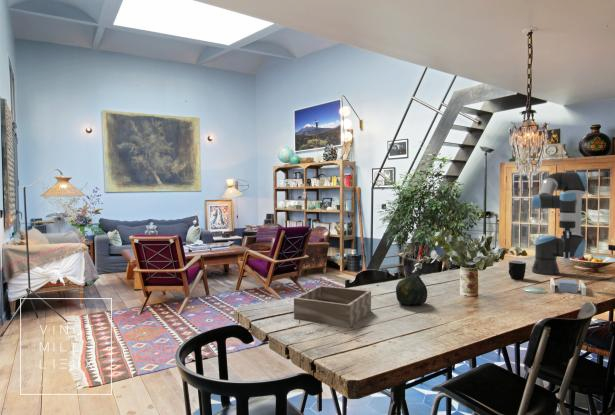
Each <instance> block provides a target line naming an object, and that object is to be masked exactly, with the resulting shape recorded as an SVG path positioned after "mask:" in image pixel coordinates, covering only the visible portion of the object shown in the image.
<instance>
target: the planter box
mask: <svg viewBox="0 0 615 415" xmlns="http://www.w3.org/2000/svg"><path fill="white" fill-rule="evenodd" d="M371 311H372V291H371V290H362V289H354V288H345V287H336V286H327V285H318V286H317V287H314V288H312V289H311V290H308V291H305V292H304V293H301V294H300V295H298V296H296V297H294V298H293V319H294V320H297V321H304V322H309V323H316V324H323V325H329V326H334V327H335V326H336V327H343V328H347V329H350V328H352V327H353V326H354V325H355V324H356V323H358V322H359V321H360V320H362V319H363V318H364V317H365V316H367V315H368V314H369V313H370V312H371Z"/></svg>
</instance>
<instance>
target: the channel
mask: <svg viewBox="0 0 615 415" xmlns="http://www.w3.org/2000/svg"><path fill="white" fill-rule="evenodd" d="M549 280H550V281H549V282H550V283H549V286H550V292H551V293H552V294H553V293H554V294H555V293H556V292H555V291H556V290H555V289H556V286H555V285H556V284H555V279H554V278H553V277H550V278H549ZM578 289H579V292H580V293H581V295H582V296H585V297H586V295H587V287H586V285H585V283H584V280H581V279H579V280H578Z"/></svg>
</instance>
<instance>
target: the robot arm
mask: <svg viewBox="0 0 615 415" xmlns="http://www.w3.org/2000/svg"><path fill="white" fill-rule="evenodd" d="M588 190H589V187H588V179H587V173H585V171H583V172H582V171H571V172H570V171H568V172H565V171H563V172H559V171H558V172H553V173H551V174H549V175H547V176H545V177H544V178H543V179H542V180H541V182H540V190H539V191H538V194H536V195H534V194H533V195H532V198H531V207H532V208H534V209H555V210H557V209H559V213H558V214H557V216H558V217H559V222H558V224H559V225H558V227H559V228H561V229H564V230H563V231H562V234H561V237H558V236H557V235H554V234H553V235H552V234H551V235H550V234H549V235H541V236H537V237H536V238H535V244H534V245H535V250H534V252H535V253H534V254H535V259H534V261H533V264H532V267H531V272H532V273H534V274H538V275H548V276H554V275H555V276H556V275H559V274H560V269H559V264H558V262H557V258H563V260H562V261H563V265H570V259H582V258H583V257H584V256H585V251H586V244H587V239H584V236H583V235H582V233H581V232H582V205H583V204H582V202H583V196H584V195H585V194H586V192H587V191H588ZM555 191H560V193H559V195H558V194H557V195H556V194H555V195H554V193H555Z"/></svg>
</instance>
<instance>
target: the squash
mask: <svg viewBox="0 0 615 415" xmlns="http://www.w3.org/2000/svg"><path fill="white" fill-rule="evenodd" d="M395 294H396V300H397V302H398V304H401V305H403V306H404V305H406V306H409V305H413V306H415V305H423V304H424V303H426V302H427V299H428V289H427V286H426V284H425V283H424V281H423V280H422V278H421V276H420V275H419V274H418V273H417V274H414V273H413V274H412V275H409V276H406V277H405V278H402V279H401V280H399V281H398V282H397V284H396V286H395Z"/></svg>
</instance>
